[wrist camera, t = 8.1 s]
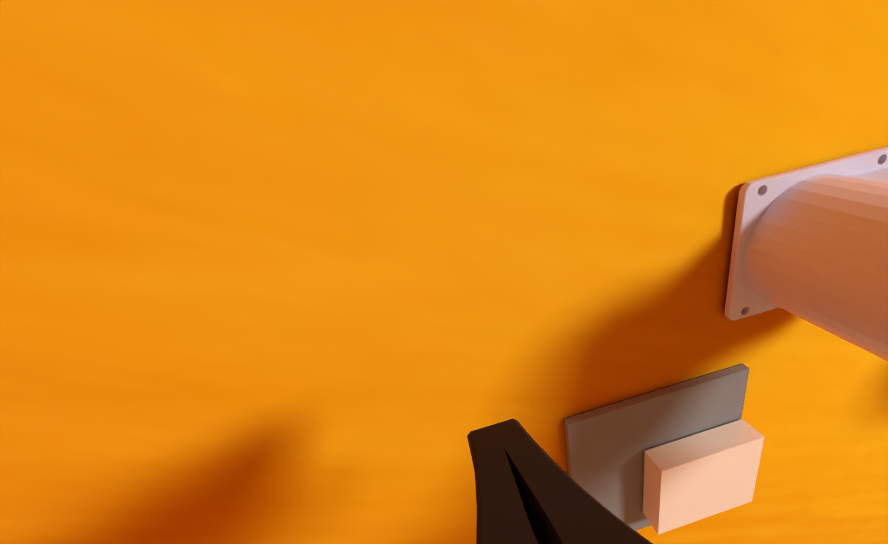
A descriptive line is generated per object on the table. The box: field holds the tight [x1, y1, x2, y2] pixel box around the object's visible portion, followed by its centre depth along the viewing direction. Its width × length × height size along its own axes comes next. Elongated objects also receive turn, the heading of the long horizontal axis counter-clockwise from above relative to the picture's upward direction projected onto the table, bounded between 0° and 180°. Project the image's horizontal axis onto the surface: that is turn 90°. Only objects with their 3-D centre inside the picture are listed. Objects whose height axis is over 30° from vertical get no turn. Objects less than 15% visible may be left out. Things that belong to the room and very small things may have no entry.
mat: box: [564, 364, 749, 531], centre depth 28 cm, size 12×12×1 cm
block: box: [643, 419, 764, 534], centre depth 27 cm, size 2×6×7 cm
